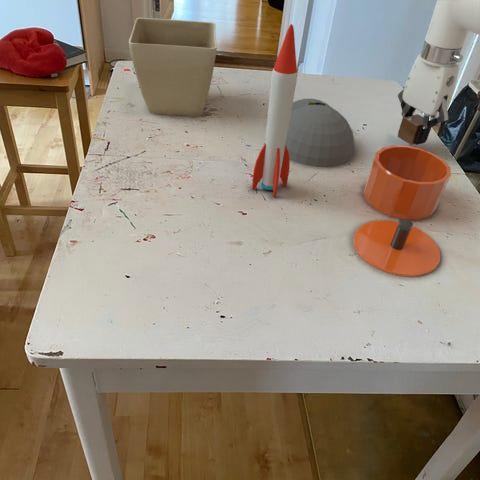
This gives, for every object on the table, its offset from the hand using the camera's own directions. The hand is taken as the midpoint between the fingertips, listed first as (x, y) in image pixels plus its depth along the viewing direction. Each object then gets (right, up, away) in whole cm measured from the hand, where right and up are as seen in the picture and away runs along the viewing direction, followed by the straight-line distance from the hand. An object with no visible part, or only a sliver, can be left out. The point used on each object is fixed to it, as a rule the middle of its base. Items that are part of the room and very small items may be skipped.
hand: (411, 137), depth 110 cm
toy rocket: (-34, -16, -14) cm, 40 cm away
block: (0, 0, 0) cm, 0 cm away
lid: (-12, -30, -25) cm, 40 cm away
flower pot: (-57, +12, +10) cm, 59 cm away
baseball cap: (-23, 0, +2) cm, 23 cm away
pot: (-7, -18, -13) cm, 23 cm away
